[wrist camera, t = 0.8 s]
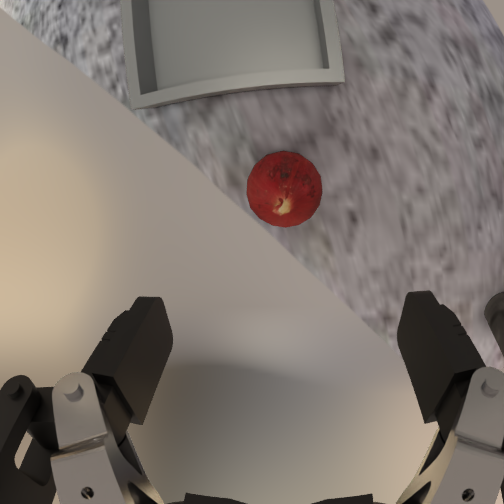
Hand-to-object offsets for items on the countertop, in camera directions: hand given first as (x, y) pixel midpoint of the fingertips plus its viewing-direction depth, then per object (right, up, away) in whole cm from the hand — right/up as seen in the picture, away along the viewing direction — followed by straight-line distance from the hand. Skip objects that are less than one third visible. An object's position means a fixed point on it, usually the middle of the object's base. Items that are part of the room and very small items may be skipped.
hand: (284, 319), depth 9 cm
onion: (+2, +9, +17) cm, 19 cm away
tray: (-3, +23, +10) cm, 25 cm away
